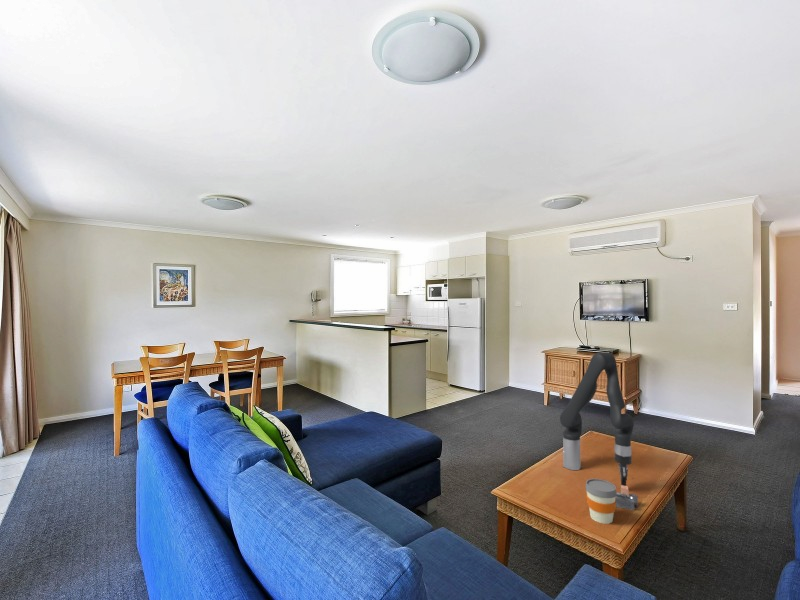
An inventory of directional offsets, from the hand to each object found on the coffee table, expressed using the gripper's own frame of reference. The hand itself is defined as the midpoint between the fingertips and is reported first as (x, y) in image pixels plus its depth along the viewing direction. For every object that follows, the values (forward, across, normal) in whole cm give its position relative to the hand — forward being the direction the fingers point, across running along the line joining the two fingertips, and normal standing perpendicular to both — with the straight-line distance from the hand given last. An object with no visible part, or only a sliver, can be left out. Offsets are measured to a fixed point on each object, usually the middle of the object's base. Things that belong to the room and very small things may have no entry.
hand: (623, 486), depth 196 cm
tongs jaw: (+2, +18, -5) cm, 19 cm away
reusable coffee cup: (+2, +32, -11) cm, 34 cm away
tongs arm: (+2, +14, -4) cm, 14 cm away
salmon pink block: (+2, +7, 0) cm, 8 cm away
